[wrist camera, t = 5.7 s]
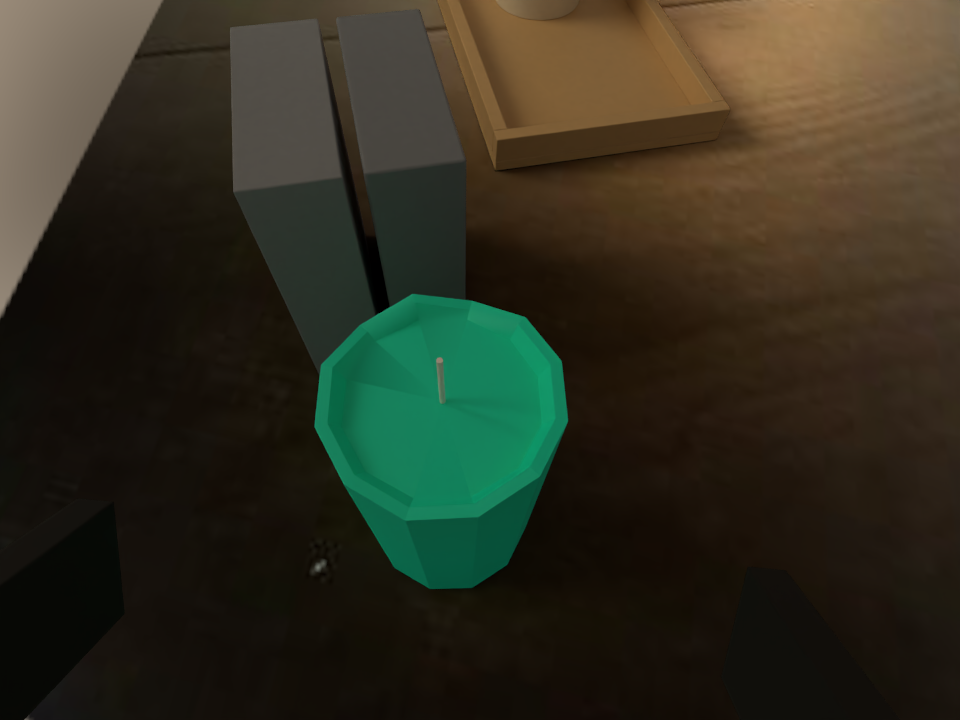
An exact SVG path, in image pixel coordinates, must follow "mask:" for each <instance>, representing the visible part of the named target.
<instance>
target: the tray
mask: <svg viewBox="0 0 960 720" xmlns="http://www.w3.org/2000/svg"><path fill="white" fill-rule="evenodd" d="M437 1H438V4H439V7H440V10H441V13H442V16H443V19H444V22H445V25H446V28H447V31H448V34H449V36H450V39H451V42H452V45H453V48H454V51H455V54H456V57H457V60H458V63H459V66H460V69H461V72H462V75H463V78H464V81H465V83H466V86H467V89H468V92H469V95H470V98H471V101H472V104H473V107H474V110H475V113H476V116H477V119H478V122H479V125H480V128H481V130H482V133H483V136H484V139H485V142H486V145H487V148H488V151H489V154H490V157H491V160H492V163H493V166H494V169H495V171H497V170H504V169H511V168H518V167H525V166H532V165H539V164H546V163H554V162H561V161H568V160H575V159H582V158H589V157H596V156H603V155H610V154H617V153H625V152H632V151H639V150H646V149H653V148H660V147H667V146H674V145H681V144H689V143H696V142H703V141H710V140H716V139H717V137H718V135H719V133H720V131H721V129H722V126H723V124H724V122H725V120H726V118H727V116H728V114H729V112H730V107H729V106H728V104H727V103H726V102H725V101H724V99H723V97H722V96H721V94H720V93H719V91H718V90H717V88H716V87H715V85H714V84H713V82H712V81H711V79H710V78H709V76H708V75H707V74H706V72H705V71H704V69H703V68H702V66H701V65H700V63H699V62H698V60H697V59H696V57H695V56H694V54H693V53H692V51H691V50H690V49H689V47H688V46H687V44H686V43H685V41H684V40H683V38H682V37H681V35H680V34H679V32H678V31H677V29H676V28H675V26H674V25H673V24H672V22H671V21H670V19H669V18H668V16H667V15H666V13H665V12H664V10H663V9H662V7H661V6H660V4H659V3H658V1H657V0H579V3H578V5H577V7H576V8H575V9H574V10H573V11H572V12H571V13H569V14H567V15H565V16H563V17H560V18H556V19H550V20H531V19H525V18H521V17H518V16H515V15H512V14H510V13H508V12H506V11H505V10H504V9H502V8H501V7H500V6H499V5H498V4H497V2H496V0H437Z"/></svg>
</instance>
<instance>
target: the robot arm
mask: <svg viewBox="0 0 960 720" xmlns="http://www.w3.org/2000/svg"><path fill="white" fill-rule="evenodd" d="M124 614H125V613H124V603H123V593H122V583H121V573H120V562H119V552H118V542H117V532H116V522H115V512H114V502H107V501H98V500H88V499H76V500H75V501H73V502H72V503H70V504H69V505H67V506H66V507H64V508H63V509H61V510H60V511H58V512H57V513H55V514H54V515H52V516H51V517H49V518H48V519H47V520H45V521H44V522H42V523H41V524H39V525H38V526H36V527H35V528H33V529H32V530H30V531H29V532H27V533H26V534H24V535H23V536H21V537H20V538H18V539H17V540H15V541H14V542H12V543H11V544H9V545H8V546H7V547H5V548H4V549H2V550H1V551H0V720H24V719H25V718H26V717H27V716H28V715H29V714H30V713H31V712H32V711H33V710H34V709H35V708H36V707H37V706H38V704H39V703H40V702H41V701H42V700H43V699H44V698H45V697H46V696H47V695H48V694H49V693H50V692H51V691H52V690H53V689H54V688H55V687H56V685H57V684H58V683H59V682H60V681H61V680H62V679H63V678H64V677H65V676H66V675H67V674H68V673H69V672H70V671H71V670H72V669H73V668H74V666H75V665H76V664H77V663H78V662H79V661H80V660H81V659H82V658H83V657H84V656H85V655H86V654H87V653H88V652H89V651H90V650H91V648H92V647H93V646H94V645H95V644H96V643H97V642H98V641H99V640H100V639H101V638H102V637H103V636H104V635H105V634H106V633H107V632H108V631H109V629H110V628H111V627H112V626H113V625H114V624H115V623H116V622H117V621H118V620H119V619H120V618H121V617H122V616H123V615H124ZM721 678H722V680H723V682H724V685H725V687H726V689H727V691H728V693H729V696H730V698H731V700H732V702H733V704H734V707H735V709H736V711H737V713H738V715H739V718H740V720H900V719H899V718H898V716H897V715H896V714H895V712H894V711H893V710H892V708H891V707H890V706H889V705H888V703H887V702H886V701H885V699H884V698H883V697H882V695H881V694H880V693H879V691H878V690H877V689H876V688H875V686H874V685H873V684H872V682H871V681H870V680H869V678H868V677H867V676H866V674H865V673H864V672H863V671H862V669H861V668H860V667H859V665H858V664H857V663H856V661H855V660H854V659H853V657H852V656H851V655H850V654H849V652H848V651H847V650H846V648H845V647H844V646H843V644H842V643H841V642H840V640H839V639H838V638H837V637H836V635H835V634H834V633H833V631H832V630H831V629H830V627H829V626H828V625H827V623H826V622H825V621H824V620H823V618H822V617H821V616H820V614H819V613H818V612H817V610H816V609H815V608H814V606H813V605H812V604H811V603H810V601H809V600H808V599H807V597H806V596H805V595H804V593H803V592H802V591H801V589H800V588H799V587H798V585H797V584H796V583H795V582H794V580H793V579H792V578H791V576H790V575H789V574H788V572H787V571H786V570H776V569H766V568H757V567H748V568H747V572H746V577H745V581H744V585H743V589H742V593H741V597H740V601H739V606H738V610H737V614H736V618H735V622H734V626H733V630H732V635H731V639H730V643H729V647H728V651H727V655H726V660H725V664H724V668H723V672H722V676H721Z"/></svg>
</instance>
